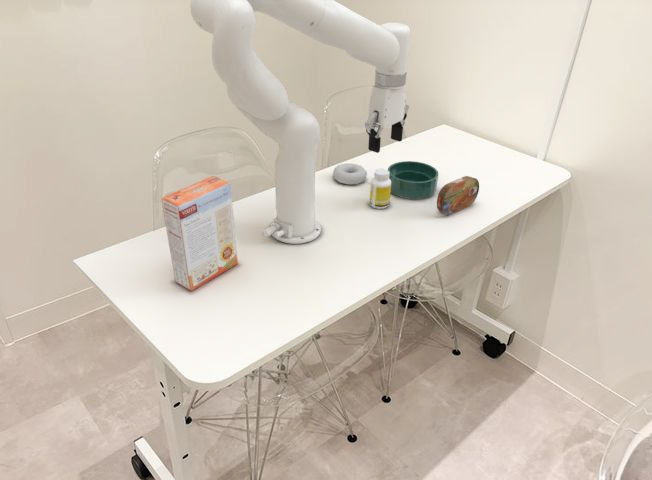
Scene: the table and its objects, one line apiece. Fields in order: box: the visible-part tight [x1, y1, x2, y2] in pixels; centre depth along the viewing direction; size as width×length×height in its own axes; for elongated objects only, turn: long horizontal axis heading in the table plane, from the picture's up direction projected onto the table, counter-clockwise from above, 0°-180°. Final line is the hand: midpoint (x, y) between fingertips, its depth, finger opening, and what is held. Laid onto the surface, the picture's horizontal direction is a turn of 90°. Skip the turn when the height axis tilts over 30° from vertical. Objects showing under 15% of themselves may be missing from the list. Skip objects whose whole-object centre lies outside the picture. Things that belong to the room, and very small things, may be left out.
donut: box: [332, 162, 368, 185], centre depth 172 cm, size 10×4×10 cm
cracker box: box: [161, 175, 238, 292], centre depth 125 cm, size 14×6×21 cm, turn 141°
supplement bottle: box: [369, 168, 391, 210], centre depth 157 cm, size 5×5×10 cm
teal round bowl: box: [387, 160, 439, 200], centre depth 167 cm, size 14×14×6 cm
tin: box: [436, 175, 480, 216], centre depth 157 cm, size 15×3×8 cm, turn 129°
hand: (385, 145), depth 150 cm, fingers open, 9 cm apart
